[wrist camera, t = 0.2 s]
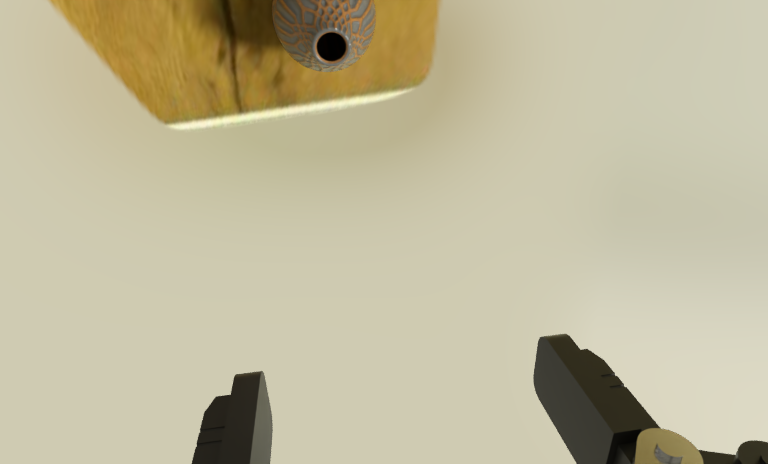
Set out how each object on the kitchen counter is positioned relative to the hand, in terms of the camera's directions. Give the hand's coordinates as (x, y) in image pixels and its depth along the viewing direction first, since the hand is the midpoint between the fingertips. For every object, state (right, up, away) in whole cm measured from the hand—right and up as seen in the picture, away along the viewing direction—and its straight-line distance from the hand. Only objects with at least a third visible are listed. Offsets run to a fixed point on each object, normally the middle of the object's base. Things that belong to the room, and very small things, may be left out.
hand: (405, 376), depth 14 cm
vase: (-5, +21, +21) cm, 31 cm away
